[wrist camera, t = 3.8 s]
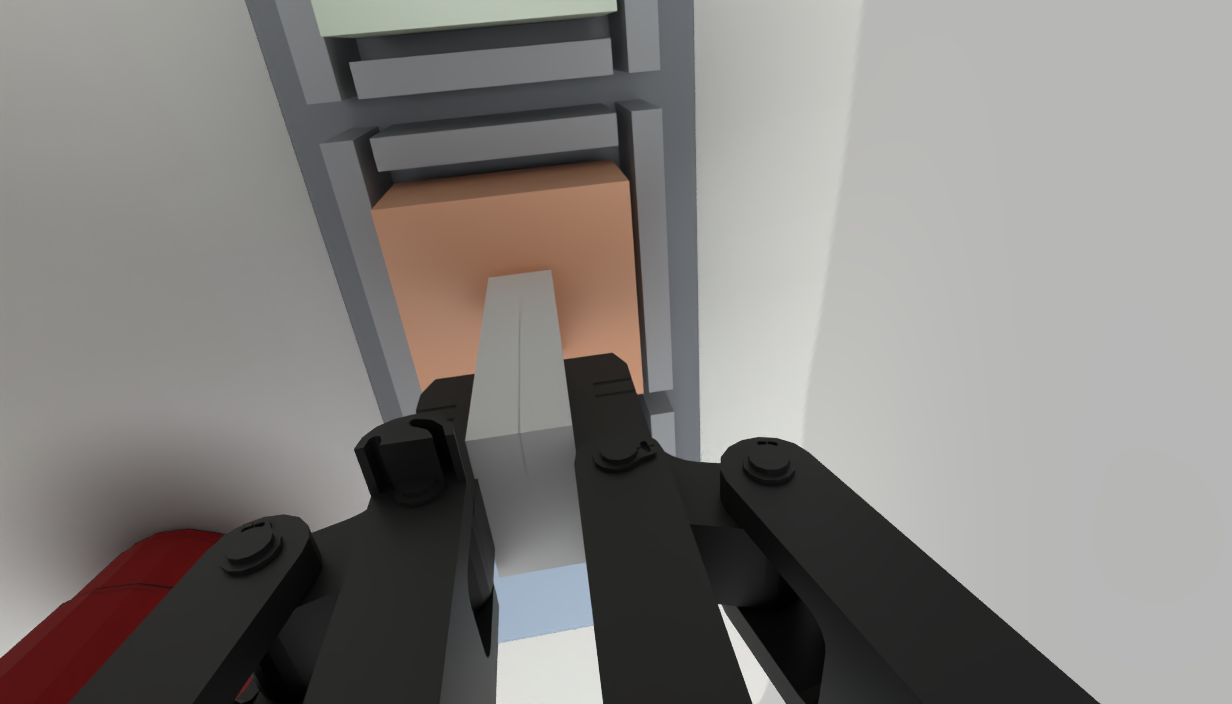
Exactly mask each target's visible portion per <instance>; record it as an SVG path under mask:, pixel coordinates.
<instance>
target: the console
mask: <svg viewBox="0 0 1232 704" xmlns="http://www.w3.org/2000/svg"><path fill="white" fill-rule="evenodd" d="M616 1H617V11H615V12H612V13H609V14H607V15H604V16H601V17H593V18H582V19H571V20H559V21H548V22H537V23H525V24H514V25H503V26H491V27H480V28H469V29H457V30H446V31H435V32H423V33H412V34H401V35H389V36H378V37H367V38H339V37H321V35H320V31H319V28H318V24H317V21H316V17H315V14H314V10H313V7H312V3H311V0H245V2H246V5H247V8H248V11H249V14H250V17H251V20H252V23H253V26H254V29H255V32H256V36H257V39H258V42H259V45H260V48H261V51H262V54H263V57H264V60H265V63H266V66H267V69H268V72H269V75H270V78H271V81H272V84H273V87H274V90H275V93H276V96H277V99H278V102H279V105H280V108H281V112H282V115H283V118H284V121H285V124H286V127H287V130H288V133H289V136H290V139H291V142H292V145H293V148H294V151H295V154H296V157H297V160H298V163H299V166H300V169H301V172H302V175H303V178H304V181H305V184H306V188H307V191H308V194H309V197H310V200H311V203H312V206H313V209H314V212H315V215H316V218H317V221H318V224H319V227H320V230H321V233H322V236H323V239H324V242H325V245H326V248H327V251H328V254H329V257H330V260H331V264H332V267H333V270H334V273H335V276H336V279H337V282H338V285H339V288H340V291H341V294H342V297H343V300H344V303H345V306H346V309H347V312H348V315H349V318H350V321H351V324H352V327H353V330H354V333H355V336H356V340H357V343H358V346H359V349H360V352H361V355H362V358H363V361H364V364H365V367H366V370H367V373H368V376H369V379H370V382H371V385H372V388H373V391H374V394H375V397H376V400H377V403H378V406H379V409H380V412H381V416H382V419H383V422H384V423H386V422H388V421H391V420H393V419H396V418H400V417H404V416H408V415H412V414H416V408H417V405H418V401H419V398H420V395H421V393H422V391H421V388H420V384H419V380H418V377H417V373H416V370H415V366H414V363H413V359H412V356H411V352H410V349H409V345H408V342H407V338H406V334H405V331H404V327H403V324H402V320H401V317H400V313H399V310H398V306H397V303H396V299H395V296H394V292H393V288H392V285H391V281H390V278H389V274H388V271H387V267H386V264H385V260H384V257H383V253H382V250H381V246H380V243H379V239H378V235H377V232H376V228H375V225H374V221H373V218H372V214H371V211H370V210H371V209H372V208H373V207H374V206H375V205H376V204H377V203H378V201H379V200H380V199H381V198H382V197H383V196H384V195H385V194H386V192H387V191H388V190H389V189H390V188H391V187H392V186H393V185H394V183H401V182H410V181H419V180H428V179H437V178H446V177H455V176H464V175H473V174H482V173H491V172H500V171H509V170H518V169H527V168H536V167H545V166H554V165H563V164H572V163H581V162H590V161H599V160H608V159H612V161H613V162H614V163H615V164H616V165H617V167H618V168H619V169H620V170H621V171H622V173H623V174H624V175H625V176H626V177H627V179H628V180H629V186H630V201H631V215H632V230H633V244H634V259H635V274H636V288H637V303H638V317H639V332H640V347H641V361H642V376H643V390H644V393H643V394H637V395H638V398H639V401H640V404H641V407H642V410H643V413H644V416H645V419H646V422H647V425H648V428H649V431H650V434H651V437H652V438H654V439H655V440H657V441H658V443H659V444H660V445H661V447H662V448H663V450H664V451H665V452H666V453H668V454H670V455H672V456H674V457H677V458H680V459H683V460H689V461H696V462H700V409H699V342H698V274H697V206H696V139H695V71H694V4H693V0H616Z"/></svg>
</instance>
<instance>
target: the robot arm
mask: <svg viewBox="0 0 1232 704" xmlns="http://www.w3.org/2000/svg"><path fill="white" fill-rule="evenodd" d="M354 451H355V454H356V456H357V459H358V462H359V464H360V467H361V470H362V473H363V475H364V478H365V481H366V484H367V486H368V489H369V492H370V494H371V499H370V502H369V505H368V508H367V510H365V511H364V512H362V513H361V514H358V515H356V516H354V517H352V518H350V519H347V520H345V521H342V522H340V523H337V524H335V525H332V526H329V527H327V528H324V529H321V530H319V531H316V532H313V533H311V531H310V529H309V526H308V525H307V524H306V523H305V522H304V521H303V520H302V519H301V518H299V517H295V516H290V515H285V514H284V515H276V516H268V517H263V518H261V519H258V520H255V521H252V522H249V523H247V524H244V525H242V526H240V527H239V528H237V529H235V530H233V531H232V532H230V533H228V534H227V535H225V536H223V537H222V538H221V539H220V540H219V541H217V542H216V543H215V544H214V545H213V546H212V547H211V548H209V549H208V550H207V551H206V552H205V553H204V554H203V555H202V556H201V558H200V559H199V560H198V561H197V562H196V563H195V564H194V565H193V566H192V567H191V569H190V570H189V571H188V572H187V573H186V574H185V575H184V576H183V577H182V578H181V580H180V581H179V582H178V583H177V584H176V585H175V586H174V587H173V588H172V589H171V591H170V592H169V593H168V594H167V595H166V596H165V597H164V598H163V599H162V600H161V602H160V603H159V604H158V605H157V606H156V607H155V608H154V609H153V610H152V611H151V613H150V614H149V615H148V616H147V617H146V618H145V619H144V620H143V621H142V622H141V624H140V625H139V626H138V627H137V628H136V629H135V630H134V631H133V632H132V633H131V635H130V636H129V637H128V638H127V639H126V640H125V641H124V642H123V643H122V644H121V645H120V647H119V648H118V649H117V650H116V651H115V652H114V653H113V654H112V655H111V656H110V658H109V659H108V660H107V661H106V662H105V663H104V664H103V665H102V666H101V667H100V669H99V670H98V671H97V672H96V673H95V674H94V675H93V676H92V677H91V678H90V680H89V681H88V682H87V683H86V684H85V685H84V686H83V687H82V688H81V689H80V691H79V692H78V693H77V694H76V695H75V696H74V697H73V698H72V699H71V700H70V702H69V703H68V704H496V682H497V654H498V626H499V603H498V598H497V594H496V590H495V586H494V582H493V580H494V561H495V562H496V566H497V570H498V574H499V577H505V576H511V575H517V574H523V573H528V572H534V571H540V570H546V569H552V568H557V567H563V566H569V565H575V564H581V563H586V566H587V574H588V583H589V591H590V599H591V607H592V615H593V623H594V632H595V640H596V648H597V656H598V664H599V673H600V681H601V689H602V697H603V704H752V701H751V698H750V695H749V693H748V690H747V687H746V684H745V681H744V678H743V675H742V673H741V670H740V667H739V664H738V661H737V658H736V655H735V653H734V650H733V647H732V644H731V641H730V638H729V635H728V632H727V630H726V627H725V624H724V621H723V618H722V615H721V612H720V610H719V607H718V604H722V606H723V609H724V611H725V613H726V615H727V616H728V618H729V619H730V621H731V622H732V624H733V625H734V627H735V628H736V630H737V631H738V632H739V634H740V635H741V637H742V638H743V640H744V641H745V643H746V644H747V646H748V647H749V649H750V650H751V652H752V653H753V655H754V656H755V658H756V659H757V661H758V662H759V664H760V665H761V667H762V668H763V670H764V671H765V673H766V674H767V676H768V677H769V679H770V680H771V682H772V683H773V685H774V686H775V688H776V689H777V691H778V692H779V694H780V695H781V697H782V698H783V700H784V701H785V703H786V704H1100V703H1099V702H1098V701H1096V700H1095V699H1094V698H1093V697H1092V696H1091V695H1089V694H1088V693H1087V692H1086V691H1085V690H1084V689H1082V688H1081V687H1080V686H1079V685H1078V684H1077V683H1075V682H1074V681H1073V680H1072V679H1071V678H1070V677H1068V676H1067V675H1066V674H1065V673H1064V672H1063V671H1062V670H1060V669H1059V668H1058V667H1057V666H1056V665H1055V664H1054V663H1052V662H1051V661H1050V660H1049V659H1048V658H1046V657H1045V656H1044V655H1043V654H1042V653H1041V652H1040V651H1038V650H1037V649H1036V648H1035V647H1034V646H1033V645H1032V644H1030V643H1029V642H1028V641H1027V640H1025V639H1024V638H1023V637H1022V636H1021V635H1020V634H1019V633H1018V632H1016V631H1015V630H1014V629H1013V628H1012V627H1011V626H1009V625H1008V624H1007V623H1006V622H1005V621H1004V620H1003V619H1001V618H1000V617H999V616H998V615H997V614H996V613H994V612H993V611H992V610H991V609H990V608H988V607H987V606H986V605H985V604H984V603H983V602H981V601H980V600H979V599H978V598H977V597H976V596H975V595H973V594H972V593H971V592H970V591H969V590H968V589H967V588H965V587H964V586H963V585H962V584H961V583H960V582H958V581H957V580H956V579H955V578H954V577H953V576H951V575H950V574H949V573H948V572H947V571H946V570H945V569H943V568H942V567H941V566H940V565H939V564H938V563H936V562H935V561H934V560H933V559H932V558H931V557H929V556H928V555H927V554H926V553H925V552H924V551H922V550H921V549H920V548H919V547H918V546H917V545H916V544H914V543H913V542H912V541H911V540H910V539H909V538H907V537H906V536H905V535H904V534H903V533H902V532H901V531H899V530H898V529H897V528H896V527H895V526H893V525H892V524H891V523H890V522H889V521H888V520H887V519H885V518H884V517H883V516H882V515H881V514H880V513H878V512H877V511H876V510H875V509H874V508H873V507H871V506H870V505H869V504H868V503H867V502H866V501H865V500H863V499H862V498H861V497H860V496H859V495H857V494H856V493H855V492H854V491H853V490H852V489H851V488H849V487H848V486H847V485H846V484H845V483H844V482H842V481H841V480H840V479H839V478H838V477H837V476H835V475H834V474H833V473H832V472H831V471H830V470H829V469H827V468H826V467H825V466H824V465H823V464H822V463H820V462H819V461H818V460H817V459H816V458H815V457H813V456H812V455H811V454H810V453H809V452H807V451H806V450H804V449H803V448H801V447H799V446H798V445H796V444H794V443H791V442H788V441H785V440H781V439H778V438H766V437H756V438H751V439H746V440H741V441H739V442H737V443H736V444H734V445H732V446H730V447H728V449H727V450H726V451H725V453H724V454H723V455H722V456H721V463H707V462H696V461H689V460H683V459H680V458H677V457H674V456H672V455H670V454H668V453H666V452H665V451H664V450H663V448H662V447H661V445H660V444H659V443H658V441H657V440H655V439H654V438H652V437H651V434H650V431H649V428H648V425H647V422H646V419H645V416H644V413H643V410H642V407H641V404H640V401H639V398H638V395H637V392H636V389H635V386H634V383H633V380H632V377H631V374H630V371H629V368H628V365H627V363H626V362H624V361H623V360H622V359H620V358H619V357H618V356H617V355H615V354H614V353H606V354H598V355H591V356H584V357H577V358H570V359H564V357H563V350H562V343H561V336H560V329H559V322H558V315H557V308H556V301H555V293H554V286H553V279H552V272H551V270H544V271H536V272H528V273H520V274H512V275H505V276H497V277H489V278H488V284H487V291H486V298H485V305H484V312H483V319H482V326H481V333H480V340H479V347H478V354H477V361H476V368H475V374H469V375H462V376H455V377H448V378H440V379H435V380H434V381H433V382H432V383H431V384H430V385H429V386H428V387H427V388H426V389H425V390H424V391H423V392H422V393H421V395H420V398H419V401H418V405H417V408H416V414H412V415H408V416H404V417H400V418H396V419H393V420H391V421H388V422H386V423H384V424H382V425H380V426H377V427H376V428H374V429H373V430H372V431H370V432H369V433H368V434H366V435H365V436H364V437H362V439H361V440H360V441H359V443H358V444H357V446H356V447H355V448H354ZM250 676H251V677H252V680H251V682H250V683H249V685H248V686H247V688H246V689H245V690H244V691H243V692H242V693H241V694H240V695H239V697H238V698H237V699H236V697H237V696H238V694H239V693H240V691H241V690H242V688H243V687H244V685H245V684H246V682H247V681H248V679H249V678H250Z"/></svg>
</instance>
